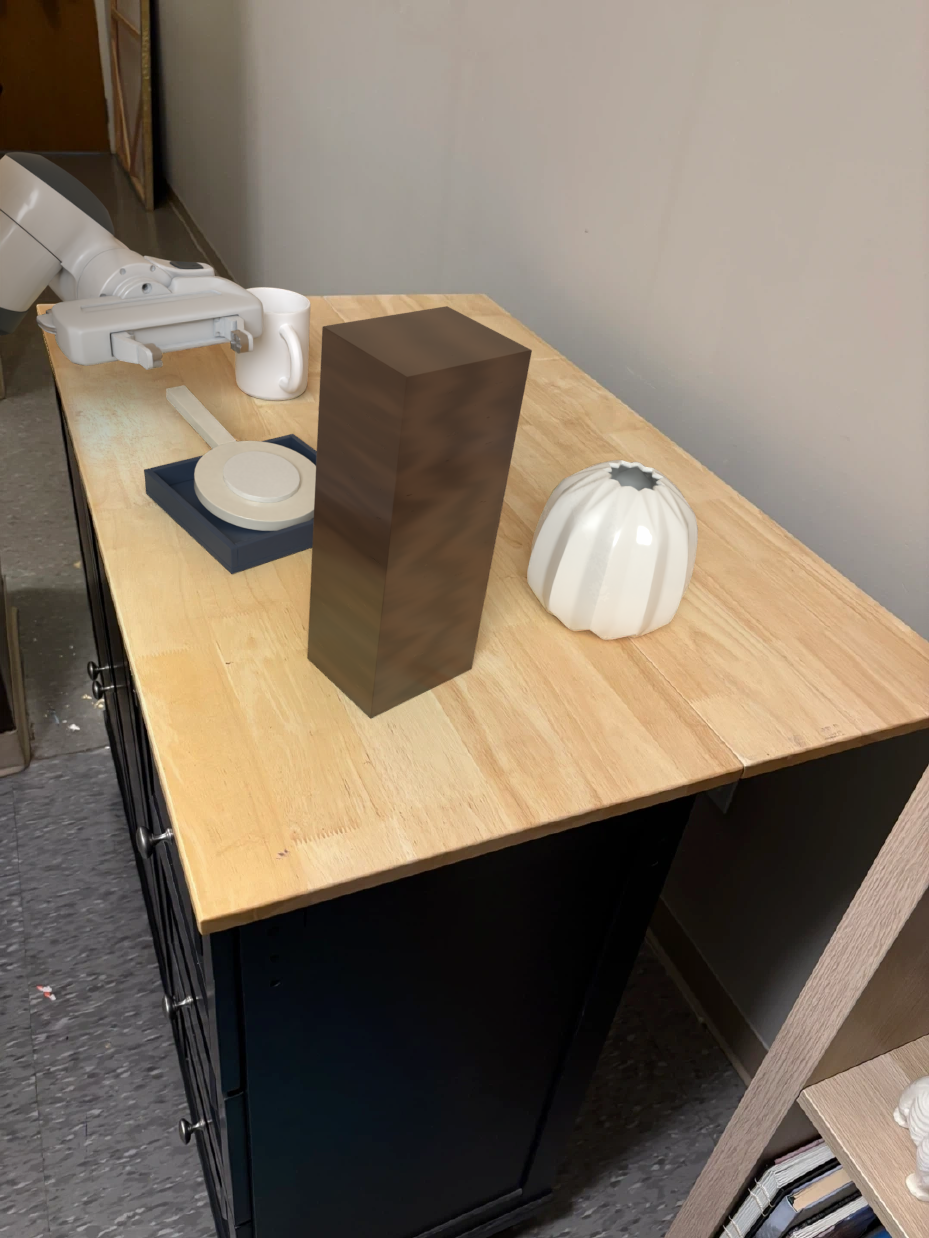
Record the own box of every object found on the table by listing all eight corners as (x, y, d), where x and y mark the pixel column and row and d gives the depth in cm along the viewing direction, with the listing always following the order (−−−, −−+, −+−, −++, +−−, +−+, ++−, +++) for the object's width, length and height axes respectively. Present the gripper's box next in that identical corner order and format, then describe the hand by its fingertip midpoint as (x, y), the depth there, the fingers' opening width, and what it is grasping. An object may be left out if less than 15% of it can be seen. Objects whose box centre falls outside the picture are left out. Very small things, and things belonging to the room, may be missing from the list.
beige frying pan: (237, 546, 79) (239, 530, 78) (118, 408, 89) (118, 392, 88) (348, 510, 87) (351, 496, 85) (227, 386, 96) (228, 371, 95)
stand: (370, 719, 66) (406, 377, 50) (306, 658, 70) (322, 326, 54) (471, 669, 72) (532, 350, 56) (407, 616, 76) (447, 306, 60)
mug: (331, 412, 104) (336, 324, 98) (261, 420, 100) (262, 328, 94) (291, 370, 112) (294, 285, 106) (225, 375, 108) (224, 288, 102)
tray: (231, 574, 77) (231, 549, 75) (145, 493, 85) (143, 469, 84) (382, 524, 87) (384, 500, 85) (292, 456, 95) (292, 433, 93)
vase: (704, 634, 80) (755, 501, 72) (583, 676, 73) (623, 535, 65) (605, 552, 88) (640, 425, 80) (487, 583, 81) (513, 448, 73)
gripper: (23, 281, 84) (89, 335, 77) (220, 261, 97) (294, 306, 89) (33, 347, 88) (97, 404, 81) (222, 319, 100) (292, 367, 93)
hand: (202, 352), depth 85 cm, fingers open, 8 cm apart
